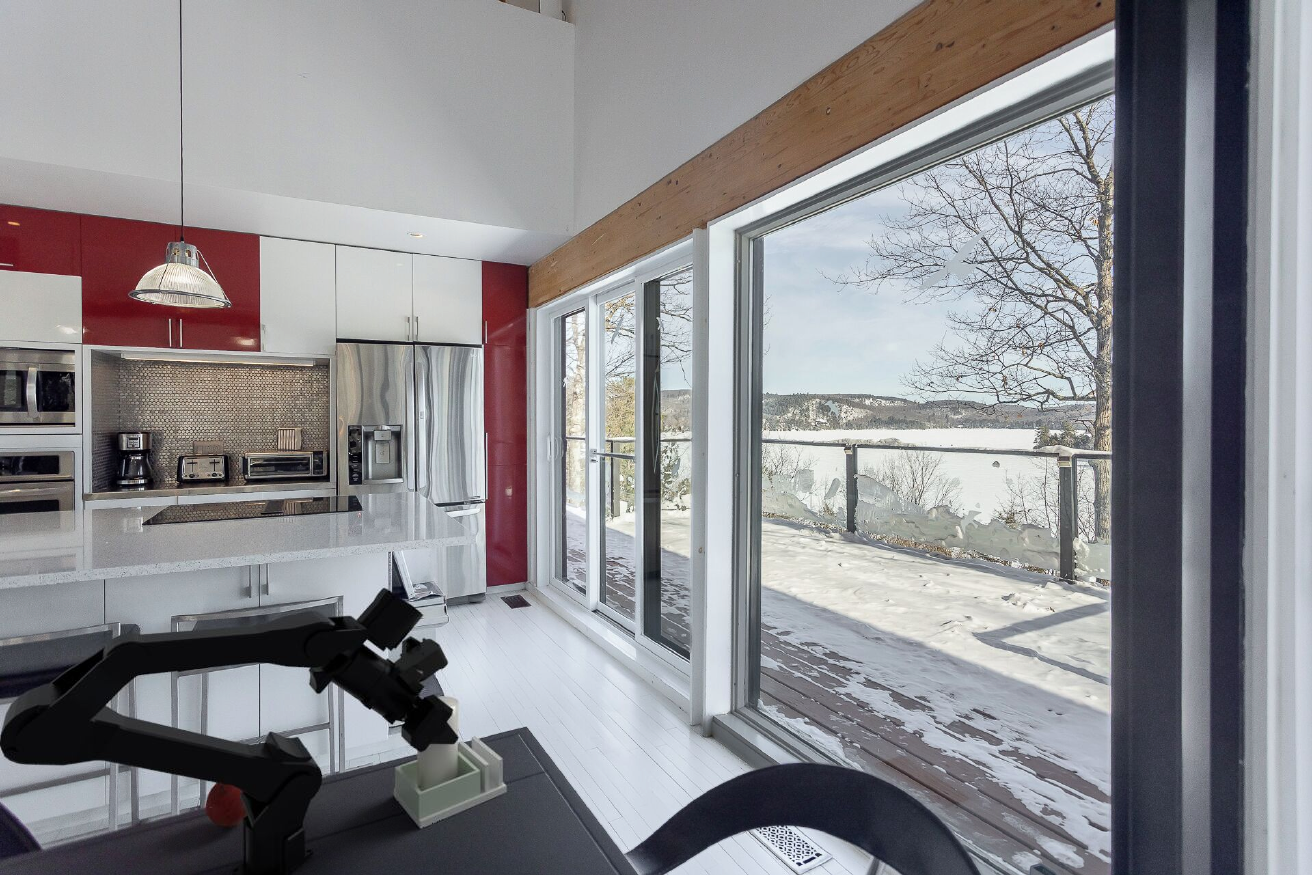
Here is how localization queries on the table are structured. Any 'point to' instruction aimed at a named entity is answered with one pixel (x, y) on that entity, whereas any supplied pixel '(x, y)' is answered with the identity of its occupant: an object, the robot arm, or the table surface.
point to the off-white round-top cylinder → (439, 756)
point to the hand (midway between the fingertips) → (446, 732)
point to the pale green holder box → (452, 785)
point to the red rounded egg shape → (225, 805)
